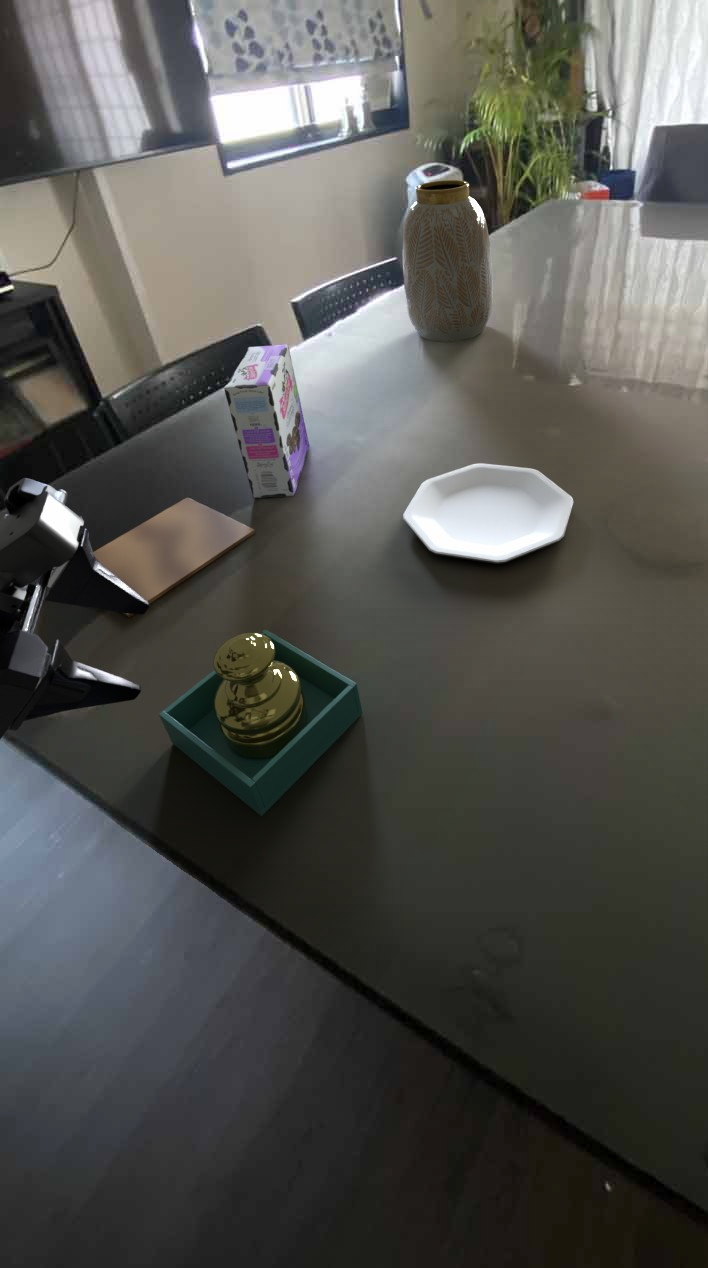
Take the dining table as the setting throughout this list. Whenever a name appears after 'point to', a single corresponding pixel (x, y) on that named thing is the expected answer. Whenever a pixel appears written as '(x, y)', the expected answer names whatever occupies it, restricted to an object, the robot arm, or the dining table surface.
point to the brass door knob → (257, 697)
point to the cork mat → (171, 547)
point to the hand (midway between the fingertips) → (143, 648)
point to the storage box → (271, 777)
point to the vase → (447, 263)
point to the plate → (489, 513)
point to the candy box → (268, 420)
